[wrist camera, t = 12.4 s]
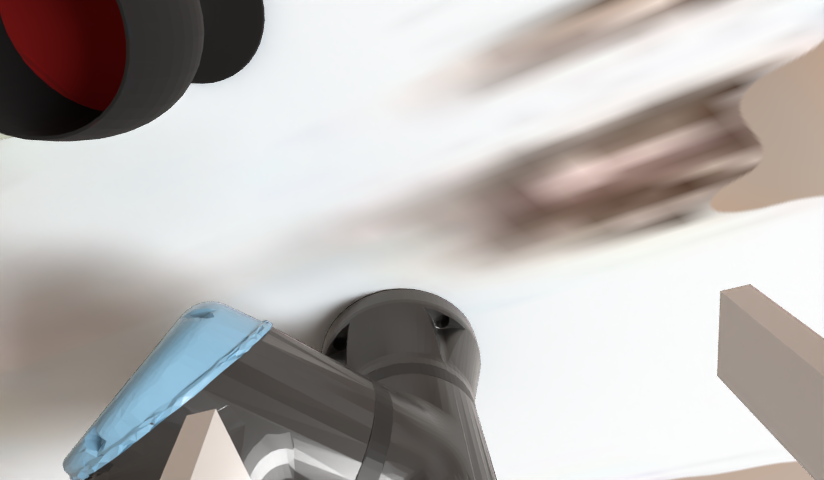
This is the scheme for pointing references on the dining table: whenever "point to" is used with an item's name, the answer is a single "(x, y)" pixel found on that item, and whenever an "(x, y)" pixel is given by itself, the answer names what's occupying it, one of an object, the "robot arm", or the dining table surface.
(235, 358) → the robot arm
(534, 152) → the dining table surface
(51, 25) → the wine glass
